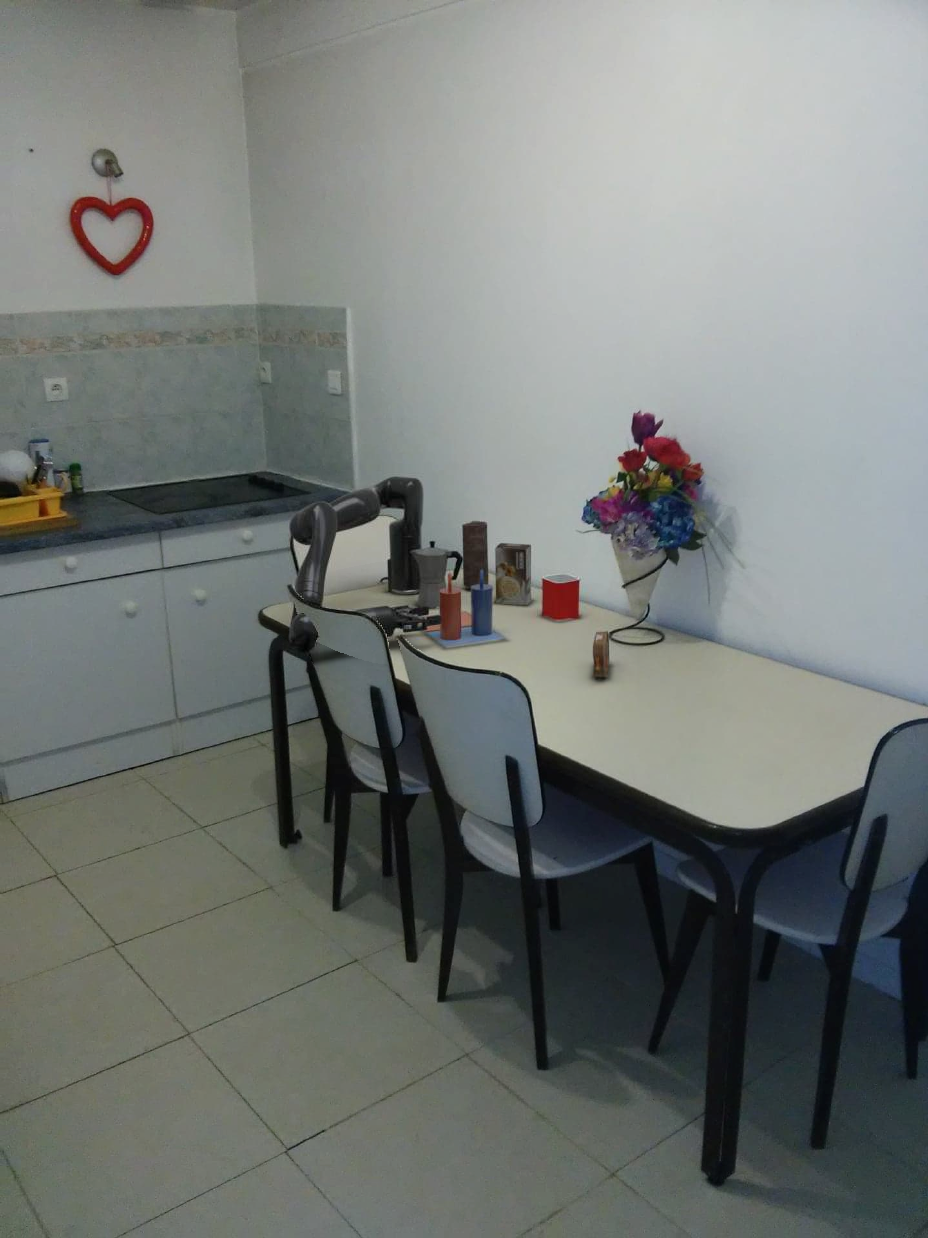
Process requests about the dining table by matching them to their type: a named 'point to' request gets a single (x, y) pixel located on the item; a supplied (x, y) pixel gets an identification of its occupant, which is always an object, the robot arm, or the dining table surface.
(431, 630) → the board
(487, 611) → the blue spoon cup
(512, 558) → the coffee box
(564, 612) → the mug
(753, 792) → the dining table surface
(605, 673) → the tin
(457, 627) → the terracotta spoon cup
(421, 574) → the coffeepot
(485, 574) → the candle
